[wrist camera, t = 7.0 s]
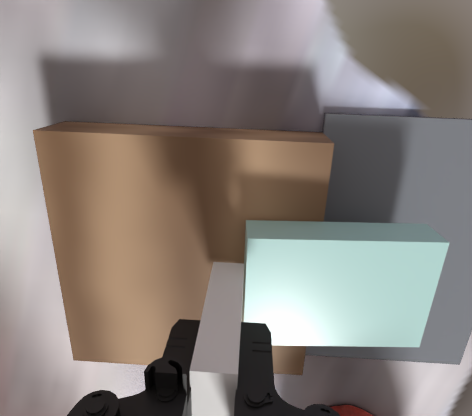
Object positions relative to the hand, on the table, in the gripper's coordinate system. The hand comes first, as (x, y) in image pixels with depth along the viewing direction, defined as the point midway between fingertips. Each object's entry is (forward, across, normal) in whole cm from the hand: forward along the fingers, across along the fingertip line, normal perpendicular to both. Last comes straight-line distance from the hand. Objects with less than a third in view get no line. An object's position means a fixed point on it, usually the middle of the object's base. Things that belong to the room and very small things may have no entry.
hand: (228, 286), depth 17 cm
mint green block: (+2, +5, 0) cm, 5 cm away
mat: (+5, +10, 0) cm, 11 cm away
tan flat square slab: (+5, -2, 0) cm, 5 cm away
